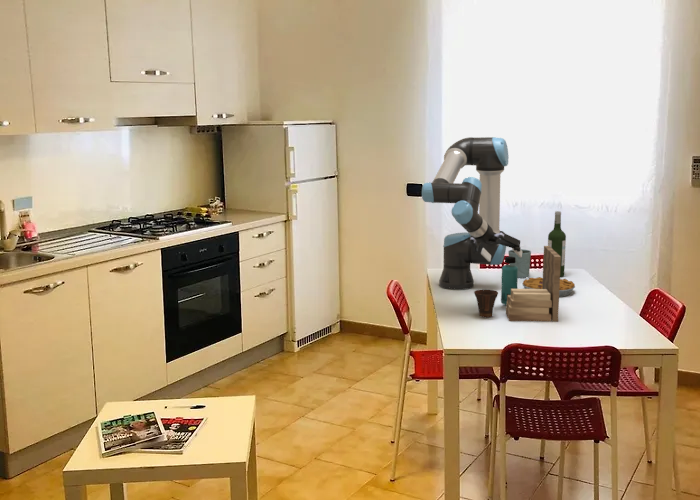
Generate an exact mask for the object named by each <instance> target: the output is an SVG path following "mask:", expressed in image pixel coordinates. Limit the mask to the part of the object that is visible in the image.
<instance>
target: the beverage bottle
mask: <svg viewBox="0 0 700 500" xmlns="http://www.w3.org/2000/svg"><path fill="white" fill-rule="evenodd" d="M504 263H506V264H504V265H503V266H502V267H501V280H500V281H501V287H500V290H501V291H500V303H501V304H502V305H505V306H506V305H507V295H511V289H519V288H518V281H519V278H518V268H517V267H516V266H515V265H509V263H516V261H515V257H509V256H504Z"/></svg>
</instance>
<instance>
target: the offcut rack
mask: <svg viewBox="0 0 700 500" xmlns="http://www.w3.org/2000/svg"><path fill="white" fill-rule="evenodd" d="M542 261H543V263H542V278H543V284H542V289H525V288H518V289H511V295H507V305H505V315H506V317H507V319H508V322H559V307H560V306H559V305H560V297H559V288H560V279H561V277H560V266H561V256H559V255H558V254H557V253H556V252H555V251H554V250H553V249H552V248H551V247H550V246H548V245H543V260H542Z"/></svg>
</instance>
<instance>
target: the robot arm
mask: <svg viewBox="0 0 700 500" xmlns="http://www.w3.org/2000/svg"><path fill="white" fill-rule="evenodd" d="M508 165H509V149H508V144H507V141H506V139H504V138H502V137H497V136H496V137H493V136H492V137H489V136H488V137H487V136H486V137H472V136H471V137H465V138H462V139H460V140H458V141H455V142H454V143H453V144H451V145H450V146H449V147H448V148H447V150H446V151H445V153H444V156H443V161H442V164H441V166H440V168H439V170H438V171H437V174H435V177H434V178H433V181H432V182H431V181H429V182H424V183H423V184H422V187H421V199H422V201H423V202H424V203H430V204H431V203H432V204H435V203H437V204H440V203H441V204H453V206H452V208H451V216H452V217H453V219H455V221H456V222H457V223H458V224H459V225H460V226H461V227H463V229H464V230H465V231H466V232H457V233H456V232H455V233H450V234H447V235H445V237H444V238H443V246H442V247H443V269H442V271H441V274H440V278H439V281H438V282H439V283H438V285H439V287H441V288H442V289H446V290H447V289H448V290H469V289H472V288H474V287H475V279H474V276H473V273H472V270H471V264H475V265H477V264H478V265H488V266H489V265H490V266H495V265H496V266H498V265H499V266H500V265H501V264H502V263H503V261H504V260H505V257H506V256H505V255H506V250H507V247H508V248H512V249H511V250H513V251H514V252H515V253H516V254H517V255H518V256H519V257H520V258H521V257H522V250H521V240H519V239H518V238H516V237H514V236H511V235H510V234H507V233H506V232H504V231H503V230H500V221H501V220H500V216H501V215H500V212H501V211H500V210H501V175H502V173H503V172H504V171H505V167H507V166H508ZM465 166H475V171H476V172H477V173H478V174H479V179H478V178H476V177H474V176H467V177H464V178H463V180H462V181H461V183H455V181H456V179H457V176H458V174H459V172H460V170H461V169H463V168H464V167H465Z"/></svg>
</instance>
